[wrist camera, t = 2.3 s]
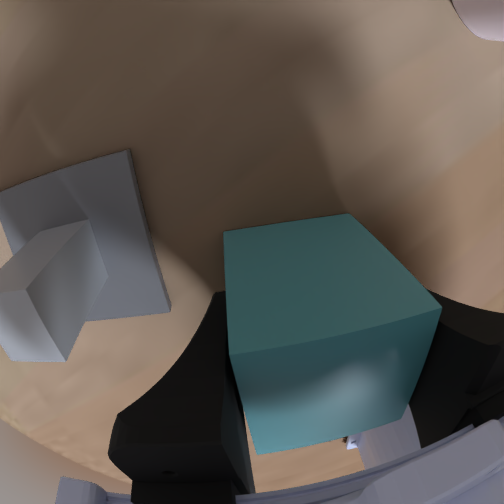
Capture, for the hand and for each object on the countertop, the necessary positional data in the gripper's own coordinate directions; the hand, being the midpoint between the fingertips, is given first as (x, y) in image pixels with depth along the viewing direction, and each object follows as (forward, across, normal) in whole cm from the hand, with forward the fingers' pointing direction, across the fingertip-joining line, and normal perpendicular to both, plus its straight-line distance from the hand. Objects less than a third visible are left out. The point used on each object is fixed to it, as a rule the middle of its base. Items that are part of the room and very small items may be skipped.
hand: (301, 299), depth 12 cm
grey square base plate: (+2, +9, -3) cm, 10 cm away
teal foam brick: (+2, 0, 0) cm, 2 cm away
